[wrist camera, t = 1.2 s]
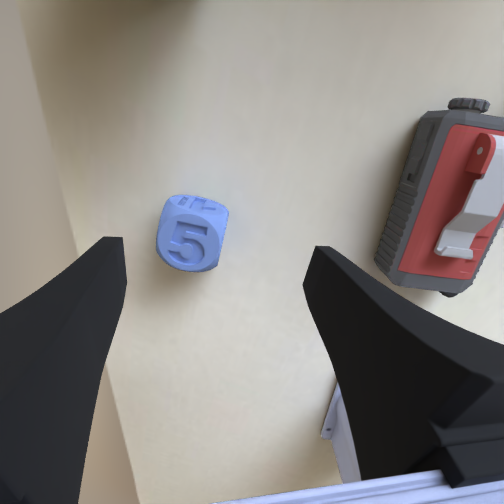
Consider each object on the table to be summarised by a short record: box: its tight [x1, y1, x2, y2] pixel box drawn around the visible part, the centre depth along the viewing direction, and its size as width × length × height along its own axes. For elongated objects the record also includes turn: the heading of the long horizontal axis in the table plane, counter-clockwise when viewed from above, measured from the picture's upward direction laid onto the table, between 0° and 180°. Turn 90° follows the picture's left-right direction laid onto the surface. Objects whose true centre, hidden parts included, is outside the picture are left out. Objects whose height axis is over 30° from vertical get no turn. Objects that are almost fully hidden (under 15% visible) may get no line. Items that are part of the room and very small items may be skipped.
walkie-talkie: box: [374, 98, 504, 297], centre depth 19 cm, size 9×4×20 cm
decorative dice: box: [156, 195, 229, 272], centre depth 20 cm, size 4×4×4 cm
